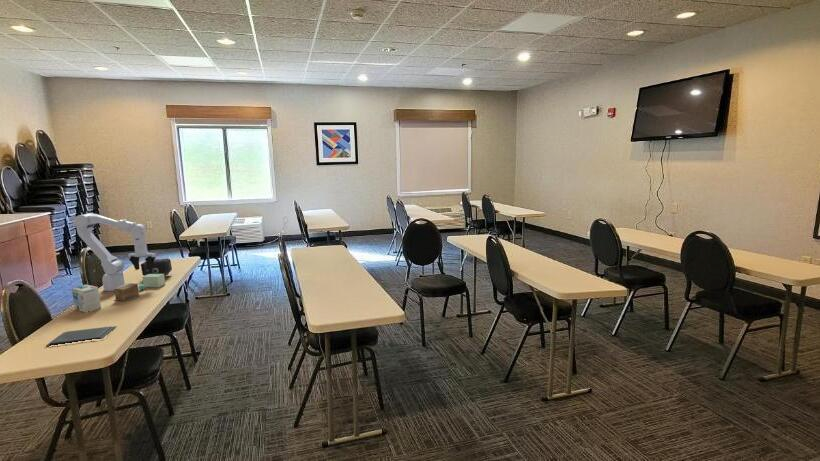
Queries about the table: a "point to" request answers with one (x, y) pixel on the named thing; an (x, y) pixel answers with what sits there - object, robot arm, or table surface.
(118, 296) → the brown box
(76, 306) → the light bulb box
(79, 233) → the robot arm
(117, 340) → the table surface
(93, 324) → the table surface
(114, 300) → the slate mat
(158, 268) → the camera
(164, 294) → the table surface
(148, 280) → the sage cover
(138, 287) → the marble
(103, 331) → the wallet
